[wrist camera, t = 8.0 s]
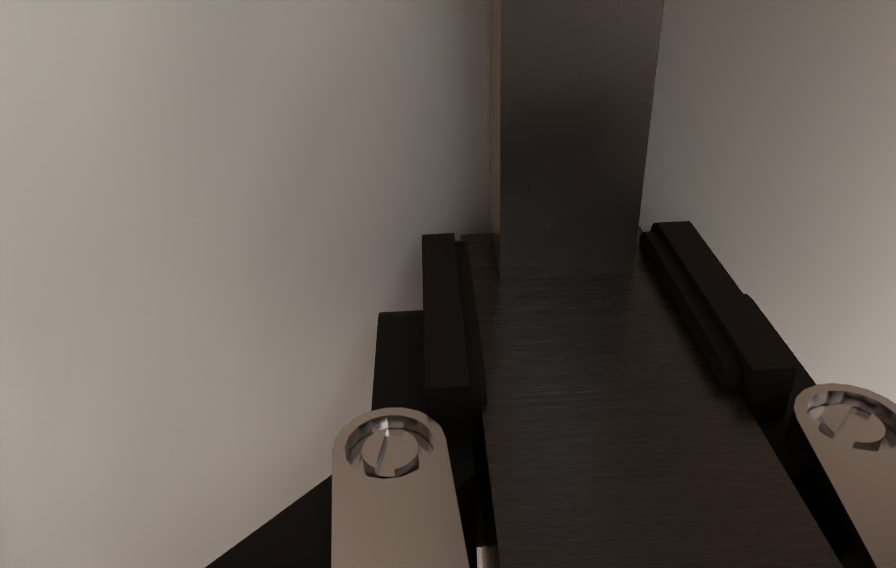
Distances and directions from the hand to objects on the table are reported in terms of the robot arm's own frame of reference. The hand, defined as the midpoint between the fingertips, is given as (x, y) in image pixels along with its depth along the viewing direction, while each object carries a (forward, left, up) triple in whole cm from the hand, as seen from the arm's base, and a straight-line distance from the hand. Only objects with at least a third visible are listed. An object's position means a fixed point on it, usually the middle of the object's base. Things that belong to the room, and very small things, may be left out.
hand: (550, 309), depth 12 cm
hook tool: (+12, -5, -1) cm, 13 cm away
